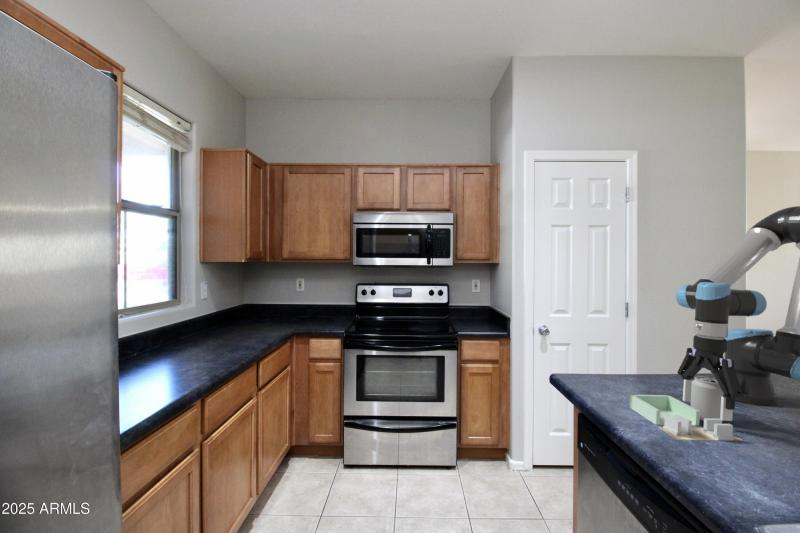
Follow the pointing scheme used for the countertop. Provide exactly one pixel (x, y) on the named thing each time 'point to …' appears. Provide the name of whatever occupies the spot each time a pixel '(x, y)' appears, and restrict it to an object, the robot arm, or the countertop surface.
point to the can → (706, 397)
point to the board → (696, 435)
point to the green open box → (662, 408)
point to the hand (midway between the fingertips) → (705, 410)
